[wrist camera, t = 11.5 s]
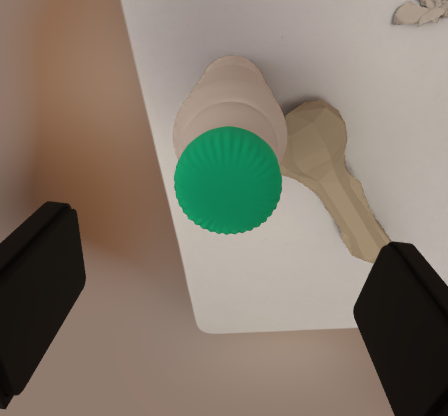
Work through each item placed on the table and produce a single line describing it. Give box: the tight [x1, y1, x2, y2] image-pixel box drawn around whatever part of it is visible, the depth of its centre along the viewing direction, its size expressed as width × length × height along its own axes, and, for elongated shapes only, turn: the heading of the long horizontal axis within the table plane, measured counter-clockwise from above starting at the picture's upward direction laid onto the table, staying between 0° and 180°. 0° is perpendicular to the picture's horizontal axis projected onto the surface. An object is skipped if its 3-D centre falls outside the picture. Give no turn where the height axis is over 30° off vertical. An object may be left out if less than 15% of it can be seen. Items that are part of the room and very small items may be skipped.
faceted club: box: [279, 100, 391, 263], centre depth 37 cm, size 9×8×25 cm
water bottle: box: [173, 55, 287, 235], centre depth 24 cm, size 7×7×25 cm
